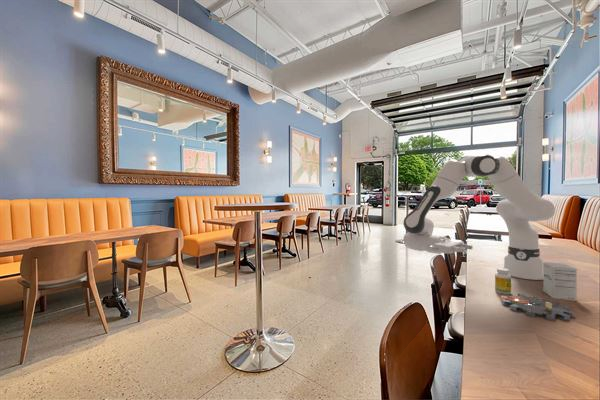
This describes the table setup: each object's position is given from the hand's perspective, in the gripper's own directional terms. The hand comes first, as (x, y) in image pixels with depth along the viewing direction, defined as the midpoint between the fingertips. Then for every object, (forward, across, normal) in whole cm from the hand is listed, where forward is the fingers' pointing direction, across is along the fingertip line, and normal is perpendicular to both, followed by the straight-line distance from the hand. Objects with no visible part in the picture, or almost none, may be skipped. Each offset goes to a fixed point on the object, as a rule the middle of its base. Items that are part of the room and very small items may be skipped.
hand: (469, 248), depth 116 cm
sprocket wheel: (+23, -11, +16) cm, 30 cm away
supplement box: (+28, +10, +16) cm, 34 cm away
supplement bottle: (+12, 0, +16) cm, 21 cm away
